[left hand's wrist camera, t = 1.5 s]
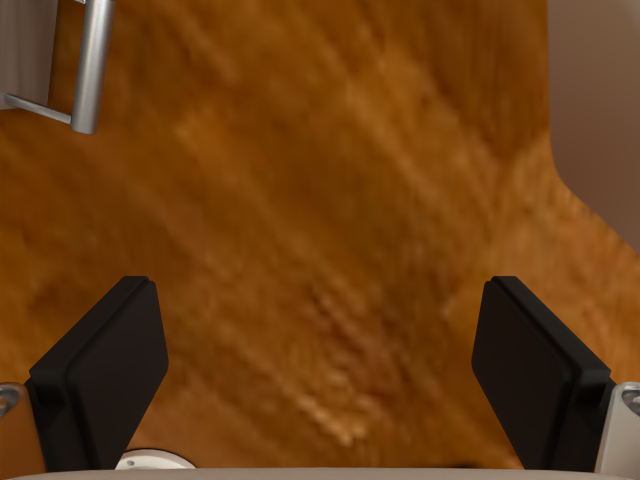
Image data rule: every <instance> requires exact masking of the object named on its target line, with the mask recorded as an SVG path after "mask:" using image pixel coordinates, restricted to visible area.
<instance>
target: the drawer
mask: <svg viewBox="0 0 640 480" xmlns="http://www.w3.org/2000/svg"><path fill="white" fill-rule="evenodd" d="M74 1H76V2H79V3H82V4H84V5H86V9H85V17H84V24H83V32H82V40H81V48H80V56H79V64H78V72H77V80H76V88H75V96H74V104H73V112H72V114H69V113H66V112H63V111H60V110H58V109H55V108H52V107H49V106H47V103H48V93H49V84H50V74H51V64H52V55H53V45H54V35H55V26H56V16H57V7H58V0H0V110H4V109H18V108H23V109H26V110H29V111H32V112H35V113H38V114H41V115H43V116H46V117H49V118H52V119H55V120H58V121H61V122H64V123H67V124H71V129H72V130H74V131H76V132H79V133H83V134H88V135H94V134H96V131H97V124H98V117H99V111H100V104H101V97H102V91H103V84H104V77H105V70H106V64H107V57H108V50H109V44H110V37H111V30H112V23H113V17H114V10H115V2H114V1H112V0H74Z"/></svg>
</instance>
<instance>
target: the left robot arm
mask: <svg viewBox="0 0 640 480" xmlns="http://www.w3.org/2000/svg"><path fill="white" fill-rule="evenodd" d="M167 369H168V354H167V348H166V342H165V336H164V330H163V325H162V319H161V313H160V307H159V301H158V295H157V289H156V285H155V283H154V282H153V281H149V279H148V277H146V276H124V277H123V278H122V279H121V280H120V281H119V282H118V283H117V284H116V285H115V286H114V287H113V288H112V289H111V290H110V291H109V292H108V293H107V294H106V295H105V296H104V297H103V298H102V299H101V300H100V301H99V302H98V303H97V304H96V305H94V306H93V307H92V308H91V309H90V310H89V311H88V312H87V313H86V314H85V315H84V316H83V317H82V318H81V319H80V320H79V321H78V322H77V323H76V324H75V325H74V326H73V327H72V328H71V329H70V330H69V331H68V332H67V333H66V334H65V335H64V336H63V337H62V338H61V339H60V340H59V341H58V342H57V343H56V344H55V345H54V346H53V347H52V348H51V349H50V350H49V351H48V352H47V353H46V354H45V355H44V356H43V357H42V358H41V359H40V360H39V361H38V362H37V363H36V364H35V365H34V366H33V367H32V368H31V369H30V370H29V373H30V376H31V377H30V378H29V379H28V380H27V381H26V382H25V383H24V384H23V385H22V384H20V383H17V382H3V383H0V480H640V383H637V382H623V383H620V384H618V385H617V384H616V383H615V382H614V381H613V380H612V379H611V378H610V377H609V376H610V373H611V370H610V369H609V368H608V367H607V366H606V365H605V364H604V363H603V362H602V361H601V360H600V359H599V358H598V357H597V356H596V355H595V354H594V353H593V352H592V351H591V350H590V349H589V348H588V347H587V346H586V345H585V344H584V343H583V342H582V341H581V340H580V339H579V338H578V337H577V336H576V335H575V334H574V333H573V332H572V331H571V330H570V329H569V328H568V327H567V326H566V325H565V324H564V323H563V322H562V321H561V320H560V319H559V318H558V317H557V316H556V315H555V314H554V313H553V312H552V311H551V310H550V309H549V308H548V307H547V306H546V305H544V304H543V303H542V302H541V301H540V300H539V299H538V298H537V297H536V296H535V295H534V294H533V293H532V292H531V291H530V290H529V289H528V288H527V287H526V286H525V285H524V284H523V283H522V282H521V281H520V280H519V279H518V278H517V277H516V276H494V277H492V279H491V281H487V282H486V283H485V285H484V289H483V295H482V301H481V307H480V313H479V319H478V325H477V330H476V336H475V342H474V348H473V354H472V369H473V372H474V374H475V376H476V378H477V380H478V382H479V384H480V386H481V387H482V389H483V391H484V393H485V395H486V397H487V399H488V401H489V403H490V404H491V406H492V408H493V410H494V412H495V414H496V416H497V418H498V420H499V421H500V423H501V425H502V427H503V429H504V431H505V433H506V435H507V437H508V438H509V440H510V442H511V444H512V446H513V448H514V450H515V452H516V454H517V455H518V457H519V459H520V461H521V463H522V465H523V467H524V469H525V470H510V469H460V468H195V467H194V466H193V465H192V464H191V463H189V462H188V461H186V460H185V459H183V458H181V457H179V456H177V455H175V454H171V453H168V452H165V451H159V450H147V449H143V450H135V451H130V452H127V453H124V452H125V450H126V448H127V446H128V444H129V442H130V440H131V438H132V437H133V435H134V433H135V431H136V429H137V427H138V425H139V423H140V421H141V420H142V418H143V416H144V414H145V412H146V410H147V408H148V406H149V404H150V403H151V401H152V399H153V397H154V395H155V393H156V391H157V389H158V387H159V386H160V384H161V382H162V380H163V378H164V376H165V374H166V372H167Z"/></svg>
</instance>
